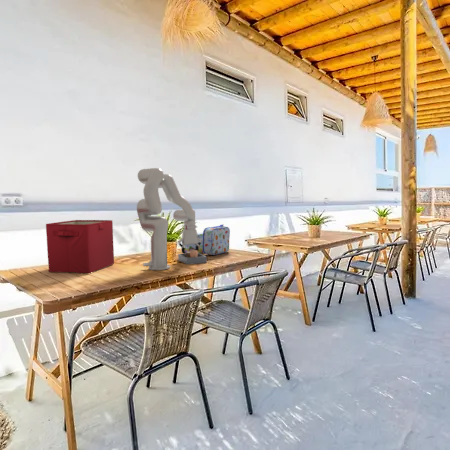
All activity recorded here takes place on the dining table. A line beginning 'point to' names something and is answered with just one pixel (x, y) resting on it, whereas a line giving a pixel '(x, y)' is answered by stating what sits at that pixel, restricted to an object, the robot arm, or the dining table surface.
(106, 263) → the storage cube
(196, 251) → the terracotta cylinder
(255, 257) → the dining table surface
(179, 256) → the tote
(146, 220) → the robot arm
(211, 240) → the lunch box
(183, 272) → the dining table surface
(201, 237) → the snack box
